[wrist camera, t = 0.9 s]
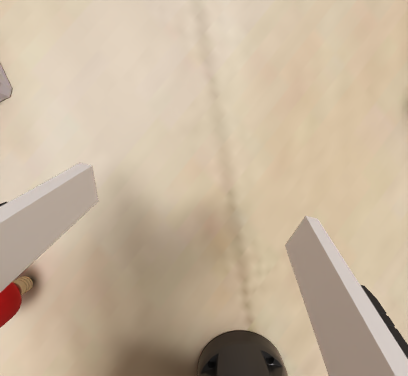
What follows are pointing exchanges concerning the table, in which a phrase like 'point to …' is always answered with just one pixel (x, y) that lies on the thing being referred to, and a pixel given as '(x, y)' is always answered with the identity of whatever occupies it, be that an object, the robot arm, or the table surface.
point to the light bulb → (13, 298)
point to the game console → (4, 85)
